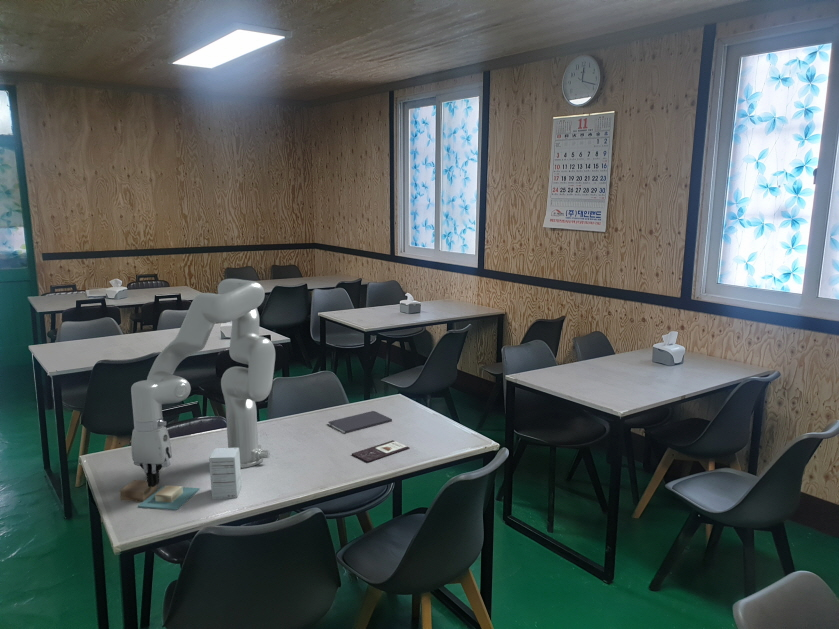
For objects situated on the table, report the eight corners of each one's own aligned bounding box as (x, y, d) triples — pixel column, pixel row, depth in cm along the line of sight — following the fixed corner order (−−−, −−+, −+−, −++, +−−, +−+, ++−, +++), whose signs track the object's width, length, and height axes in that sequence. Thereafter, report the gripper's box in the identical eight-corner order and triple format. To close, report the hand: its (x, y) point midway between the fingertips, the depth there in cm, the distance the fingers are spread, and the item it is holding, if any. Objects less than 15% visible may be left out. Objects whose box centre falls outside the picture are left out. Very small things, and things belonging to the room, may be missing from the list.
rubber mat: (199, 489, 188) (199, 488, 188) (176, 510, 175) (176, 508, 175) (163, 486, 190) (163, 485, 190) (137, 507, 177) (137, 505, 177)
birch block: (166, 485, 185) (167, 491, 186) (155, 494, 180) (155, 501, 180) (182, 486, 185) (182, 492, 185) (171, 495, 179) (171, 502, 179)
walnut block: (157, 490, 187) (156, 481, 187) (143, 501, 180) (142, 492, 180) (135, 489, 188) (134, 479, 188) (121, 500, 181) (120, 490, 181)
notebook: (344, 435, 233) (392, 422, 246) (344, 431, 233) (392, 418, 246) (327, 425, 243) (373, 414, 256) (327, 421, 243) (373, 410, 255)
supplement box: (216, 488, 189) (214, 447, 187) (242, 487, 190) (240, 446, 187) (211, 499, 182) (208, 457, 180) (237, 498, 182) (235, 456, 180)
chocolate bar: (351, 453, 213) (392, 440, 225) (351, 456, 213) (392, 442, 225) (367, 461, 206) (409, 447, 218) (367, 464, 207) (409, 450, 218)
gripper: (180, 420, 182) (184, 480, 185) (132, 418, 185) (137, 477, 188) (165, 430, 175) (170, 492, 178) (116, 427, 177) (122, 488, 180)
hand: (153, 484), depth 183 cm, fingers closed
